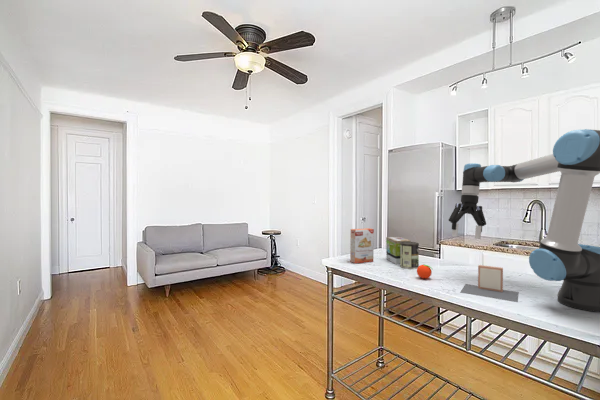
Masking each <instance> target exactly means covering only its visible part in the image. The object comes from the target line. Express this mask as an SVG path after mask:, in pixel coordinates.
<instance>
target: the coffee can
mask: <svg viewBox="0 0 600 400" xmlns="http://www.w3.org/2000/svg"><path fill="white" fill-rule="evenodd" d="M419 252H420V251H419V243H418V242H417V241H416V242H415V241H411V242H400V264H399V267H400V268H402V269H405V270H406V269H407V270H417V268H418V267H419V266H420V265H419V262H420V261H419V260H420V258H419Z"/></svg>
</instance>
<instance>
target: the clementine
mask: <svg viewBox="0 0 600 400" xmlns="http://www.w3.org/2000/svg"><path fill="white" fill-rule="evenodd" d="M416 274H417V275H418V277H419V278H421V279H424V280H427V279H429V278H430V277H431V276H432V267H431V266H430V265H429V264H420V265H419V267H418V268H417V269H416Z"/></svg>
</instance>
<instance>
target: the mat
mask: <svg viewBox="0 0 600 400" xmlns="http://www.w3.org/2000/svg"><path fill="white" fill-rule="evenodd" d="M459 293H462V294H466V295H474V296H479V297H484V298H491V299H497V300H501V301H507V302H513V303H519V291H514V290H509V289H503V292H499V291H493V290H487V289H480V288H478V285H475V284H471V283H470V284H468V283H465V284H464V285H463V287H462V289H461V290H460V292H459Z"/></svg>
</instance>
